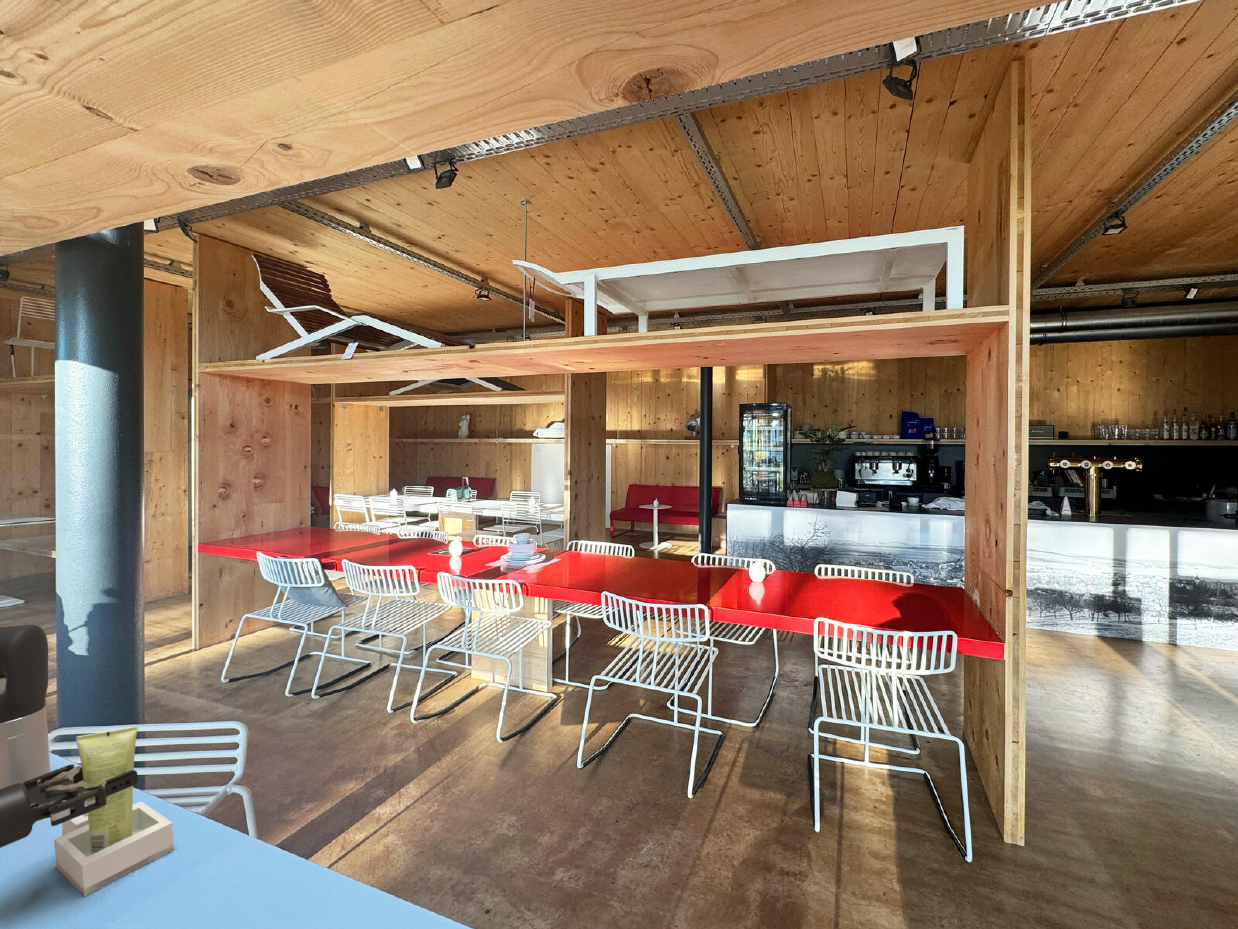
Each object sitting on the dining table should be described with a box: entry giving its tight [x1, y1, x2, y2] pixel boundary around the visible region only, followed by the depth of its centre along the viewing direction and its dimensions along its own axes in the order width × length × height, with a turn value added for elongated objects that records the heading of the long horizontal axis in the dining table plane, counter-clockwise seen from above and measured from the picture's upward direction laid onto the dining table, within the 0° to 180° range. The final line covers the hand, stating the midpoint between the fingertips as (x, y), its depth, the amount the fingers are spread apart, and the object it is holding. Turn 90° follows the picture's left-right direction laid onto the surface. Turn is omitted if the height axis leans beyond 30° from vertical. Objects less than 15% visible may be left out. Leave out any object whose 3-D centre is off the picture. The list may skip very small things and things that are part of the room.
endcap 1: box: [61, 805, 88, 836], centre depth 99 cm, size 7×7×4 cm
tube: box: [75, 725, 139, 855], centre depth 92 cm, size 6×5×20 cm
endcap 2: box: [53, 801, 175, 897], centre depth 92 cm, size 12×11×4 cm
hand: (125, 769), depth 93 cm, fingers open, 8 cm apart
